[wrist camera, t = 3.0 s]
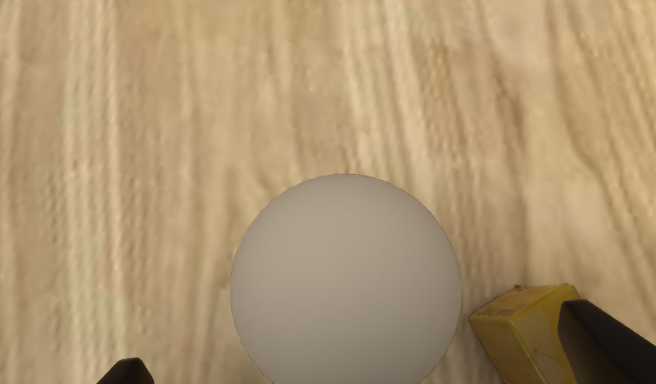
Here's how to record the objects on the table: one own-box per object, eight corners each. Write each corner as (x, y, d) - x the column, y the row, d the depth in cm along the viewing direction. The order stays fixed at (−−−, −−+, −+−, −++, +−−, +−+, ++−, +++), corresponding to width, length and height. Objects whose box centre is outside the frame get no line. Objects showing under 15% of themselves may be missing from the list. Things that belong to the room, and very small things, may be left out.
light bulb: (348, 190, 19) (326, 89, 10) (456, 282, 18) (554, 274, 8) (256, 291, 19) (133, 294, 9) (360, 394, 18) (347, 525, 8)
